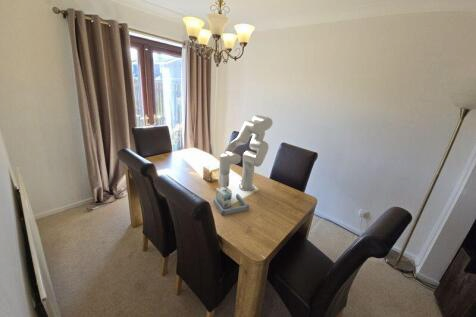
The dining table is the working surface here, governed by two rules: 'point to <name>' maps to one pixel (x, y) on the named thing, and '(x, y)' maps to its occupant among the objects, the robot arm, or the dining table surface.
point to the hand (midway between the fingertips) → (223, 192)
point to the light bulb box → (223, 197)
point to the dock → (232, 210)
